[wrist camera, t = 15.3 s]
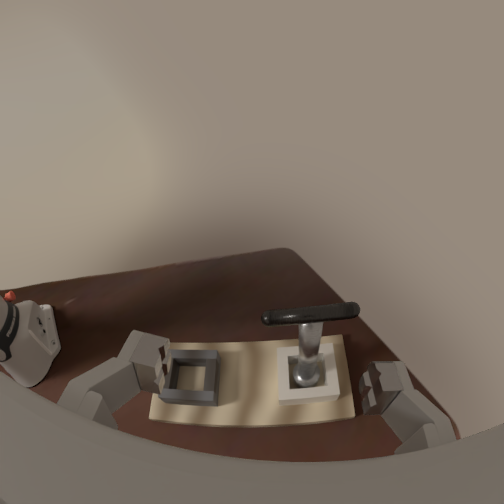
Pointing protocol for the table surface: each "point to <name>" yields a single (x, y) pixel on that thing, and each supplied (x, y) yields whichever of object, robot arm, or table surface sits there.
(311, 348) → the chuck key
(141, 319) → the table surface
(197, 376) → the tool board
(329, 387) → the frame
